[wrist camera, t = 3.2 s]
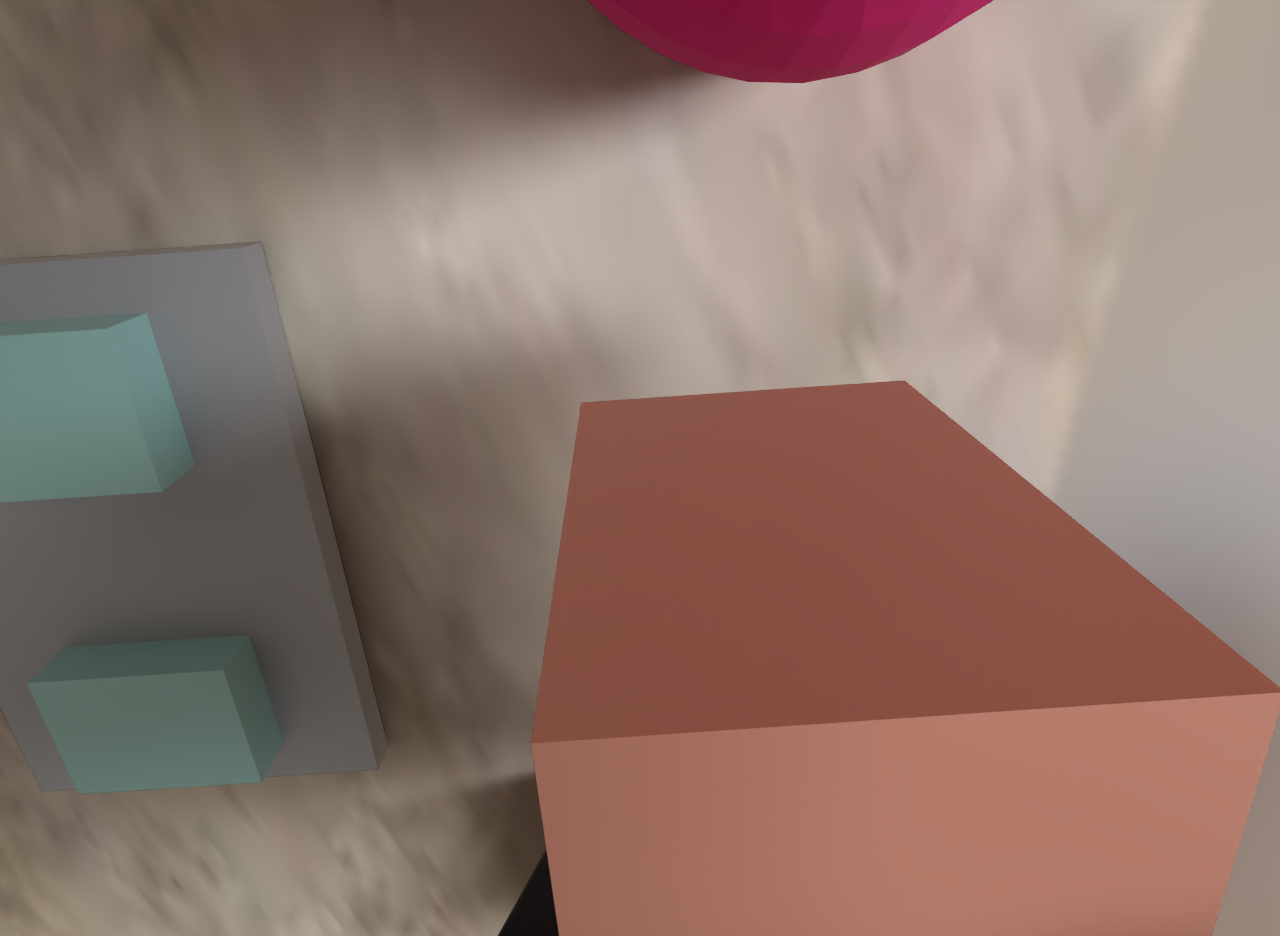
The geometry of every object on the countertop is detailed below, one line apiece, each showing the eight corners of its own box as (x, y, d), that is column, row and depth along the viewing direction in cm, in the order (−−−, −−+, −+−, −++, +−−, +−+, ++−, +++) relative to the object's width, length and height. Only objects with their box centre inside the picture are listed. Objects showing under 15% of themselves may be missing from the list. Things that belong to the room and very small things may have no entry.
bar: (867, 943, 14) (1041, 1500, 8) (634, 959, 14) (645, 1526, 8) (904, 380, 10) (1285, 693, 4) (580, 403, 10) (530, 743, 4)
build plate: (387, 744, 19) (362, 810, 17) (63, 766, 19) (4, 833, 18) (261, 241, 14) (209, 259, 13) (-170, 271, 15) (-284, 293, 13)
